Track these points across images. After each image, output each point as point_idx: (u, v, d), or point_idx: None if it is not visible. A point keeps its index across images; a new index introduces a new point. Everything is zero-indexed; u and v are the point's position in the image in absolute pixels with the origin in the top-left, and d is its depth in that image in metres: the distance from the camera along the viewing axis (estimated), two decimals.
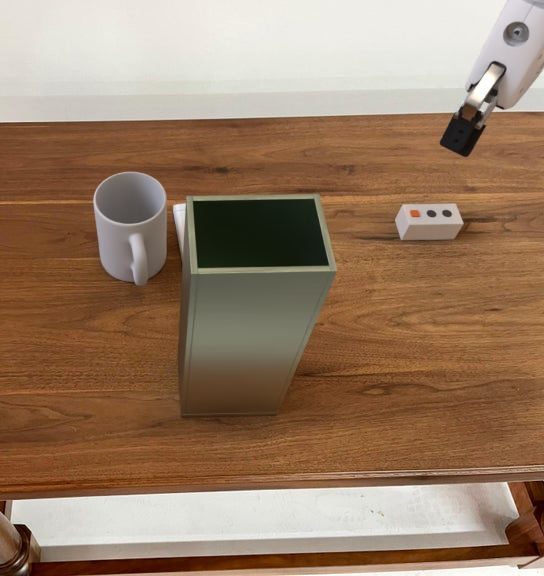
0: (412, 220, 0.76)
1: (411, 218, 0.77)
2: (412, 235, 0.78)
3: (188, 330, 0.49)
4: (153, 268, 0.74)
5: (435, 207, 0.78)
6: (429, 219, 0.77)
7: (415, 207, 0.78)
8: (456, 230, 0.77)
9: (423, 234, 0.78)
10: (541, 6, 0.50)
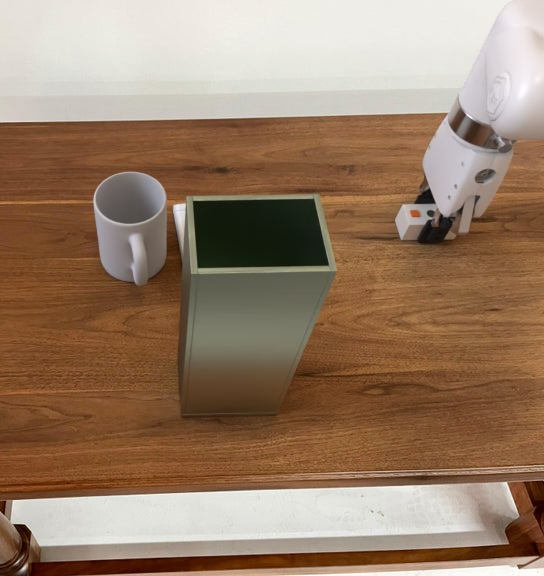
0: (412, 220, 0.76)
1: (411, 218, 0.77)
2: (412, 235, 0.78)
3: (188, 330, 0.49)
4: (153, 268, 0.74)
5: (435, 207, 0.78)
6: (429, 219, 0.77)
7: (415, 207, 0.78)
8: None
9: None
10: (499, 155, 0.63)
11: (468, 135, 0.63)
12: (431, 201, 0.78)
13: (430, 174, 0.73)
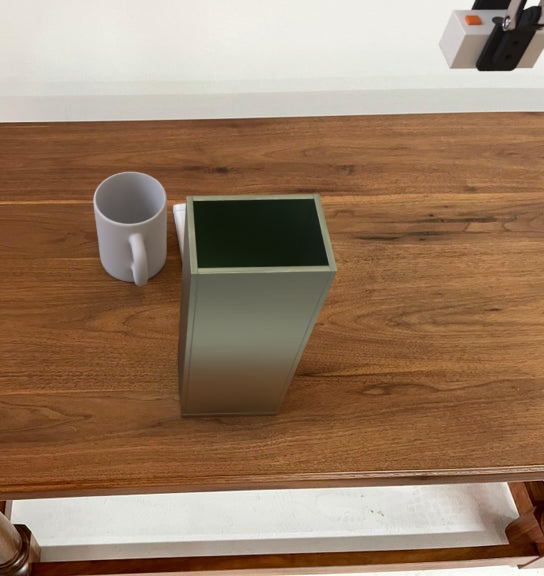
0: (470, 29, 0.48)
1: (468, 26, 0.48)
2: (468, 59, 0.50)
3: (188, 330, 0.49)
4: (153, 268, 0.74)
5: (505, 13, 0.49)
6: None
7: (473, 13, 0.49)
8: (539, 48, 0.49)
9: None
10: None
11: None
12: (498, 4, 0.49)
13: None
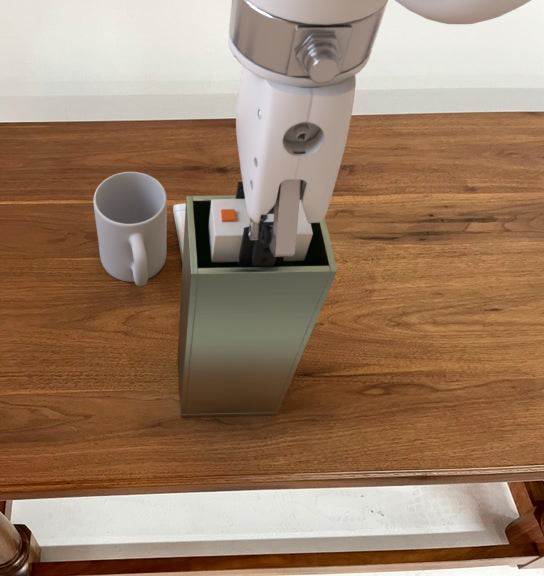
0: (221, 228, 0.43)
1: (221, 223, 0.43)
2: (228, 254, 0.44)
3: (188, 330, 0.49)
4: (153, 268, 0.74)
5: None
6: None
7: (232, 204, 0.44)
8: (303, 245, 0.44)
9: None
10: (324, 91, 0.30)
11: (255, 49, 0.29)
12: None
13: (238, 143, 0.39)
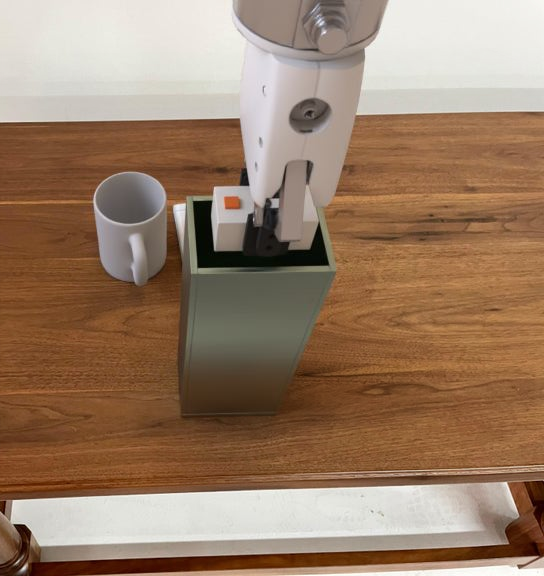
0: (224, 216, 0.42)
1: (224, 211, 0.42)
2: (232, 243, 0.43)
3: (188, 330, 0.49)
4: (153, 268, 0.74)
5: None
6: None
7: (236, 191, 0.43)
8: (309, 233, 0.42)
9: None
10: (332, 65, 0.28)
11: (260, 20, 0.28)
12: None
13: None
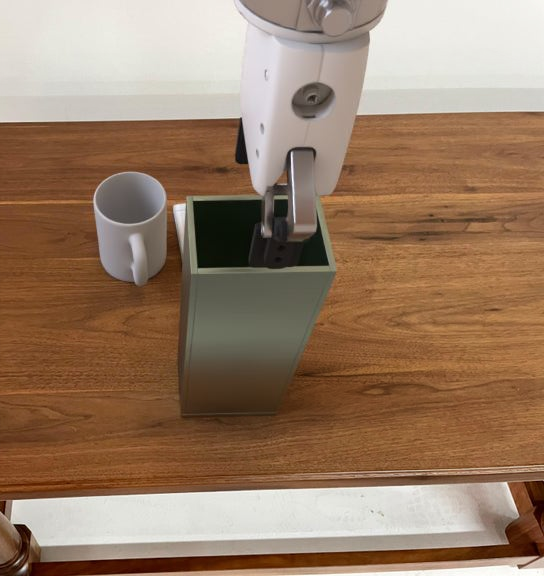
0: None
1: None
2: None
3: (188, 330, 0.49)
4: (153, 268, 0.74)
5: None
6: None
7: None
8: None
9: None
10: (336, 47, 0.28)
11: (262, 2, 0.27)
12: None
13: (242, 113, 0.37)
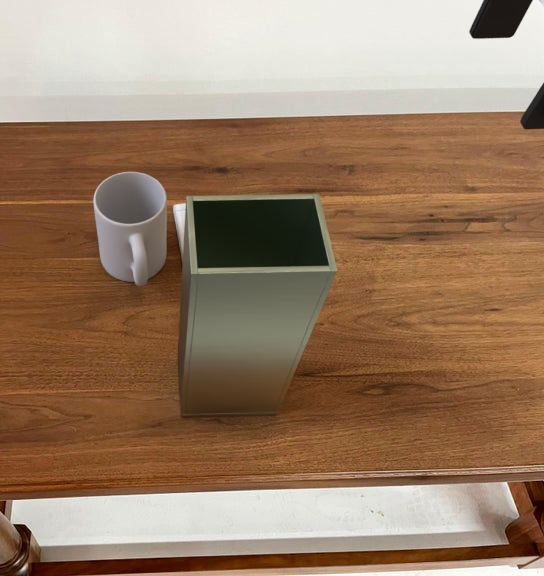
0: None
1: None
2: None
3: (188, 330, 0.49)
4: (153, 268, 0.74)
5: None
6: None
7: None
8: None
9: None
10: None
11: None
12: None
13: None
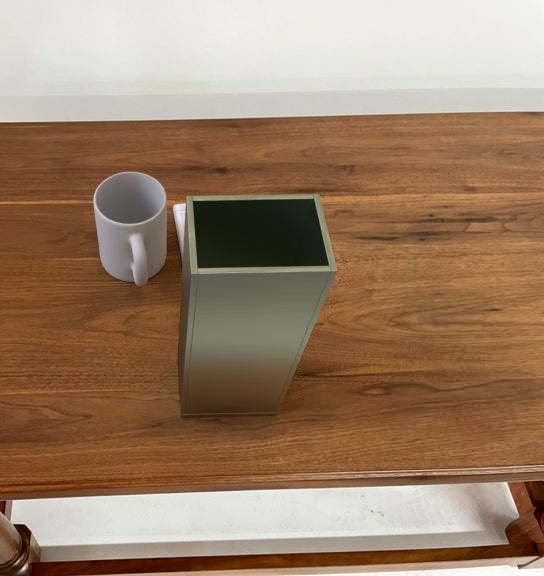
0: None
1: None
2: None
3: (188, 330, 0.49)
4: (153, 268, 0.74)
5: None
6: None
7: None
8: None
9: None
10: None
11: None
12: None
13: None
